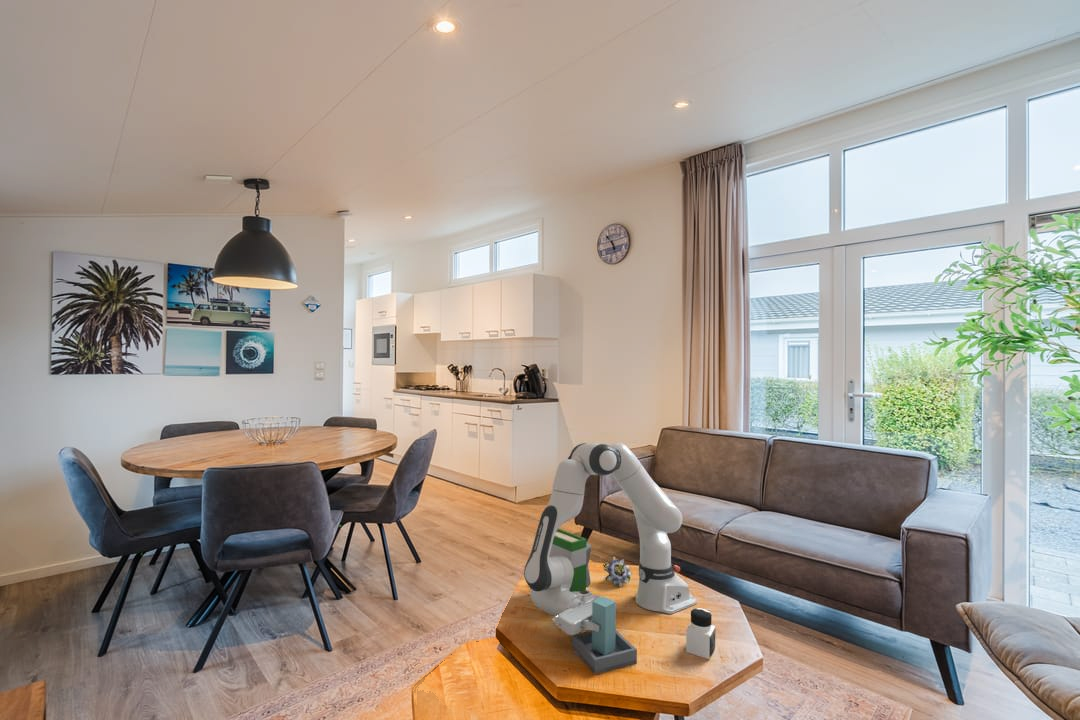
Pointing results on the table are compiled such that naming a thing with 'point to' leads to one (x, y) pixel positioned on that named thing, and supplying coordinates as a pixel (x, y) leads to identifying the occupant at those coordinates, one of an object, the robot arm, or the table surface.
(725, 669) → the table surface
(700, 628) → the medicine bottle
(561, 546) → the hardback book
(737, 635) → the table surface
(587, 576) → the coffeepot
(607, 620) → the tall teal prism
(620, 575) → the passion flower
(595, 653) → the box
